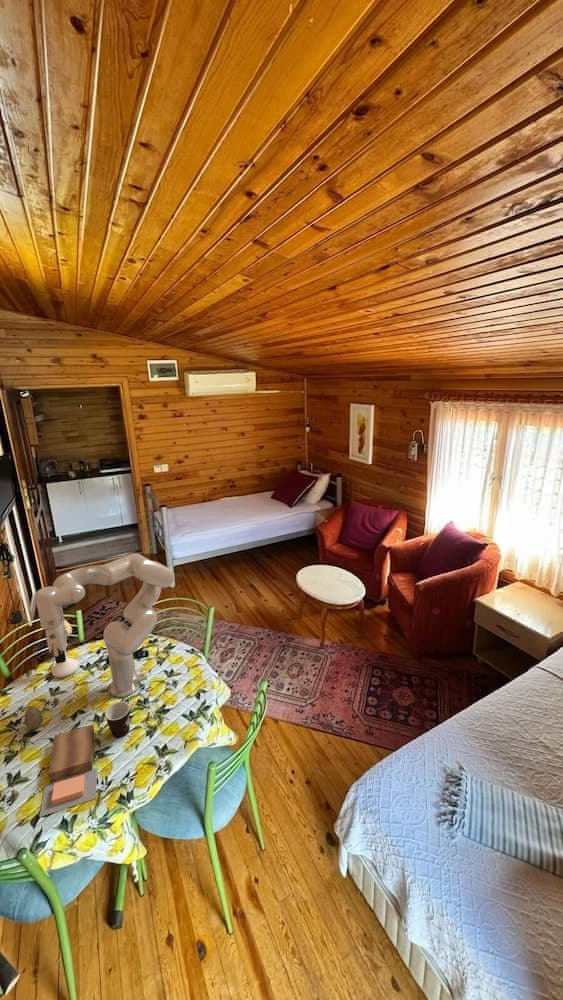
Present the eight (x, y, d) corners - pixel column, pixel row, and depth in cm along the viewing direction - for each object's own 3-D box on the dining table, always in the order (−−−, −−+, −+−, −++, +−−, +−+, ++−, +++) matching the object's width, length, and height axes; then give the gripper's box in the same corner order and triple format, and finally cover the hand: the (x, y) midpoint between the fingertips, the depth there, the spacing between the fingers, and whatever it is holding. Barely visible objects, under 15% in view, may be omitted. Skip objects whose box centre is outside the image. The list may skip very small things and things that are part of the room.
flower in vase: (72, 680, 182) (62, 632, 174) (47, 679, 182) (36, 632, 174) (86, 660, 194) (77, 614, 186) (62, 659, 194) (53, 614, 186)
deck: (94, 732, 155) (93, 724, 154) (92, 769, 141) (90, 760, 140) (56, 743, 151) (54, 735, 150) (50, 782, 137) (48, 773, 135)
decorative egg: (46, 720, 161) (42, 700, 158) (41, 732, 155) (36, 712, 152) (30, 722, 160) (25, 702, 157) (24, 735, 154) (18, 714, 151)
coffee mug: (118, 744, 150) (114, 723, 147) (103, 734, 155) (100, 713, 151) (143, 722, 160) (140, 702, 156) (129, 713, 164) (126, 693, 161)
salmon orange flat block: (82, 790, 132) (83, 795, 132) (84, 774, 137) (85, 778, 138) (51, 800, 129) (52, 805, 129) (54, 783, 134) (55, 787, 135)
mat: (97, 769, 141) (97, 768, 141) (95, 798, 131) (95, 798, 131) (45, 785, 136) (44, 784, 136) (39, 817, 126) (39, 817, 126)
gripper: (61, 629, 143) (70, 671, 148) (66, 606, 156) (74, 647, 162) (37, 634, 140) (47, 677, 146) (44, 611, 153) (52, 651, 159)
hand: (61, 661), depth 154 cm, fingers closed
